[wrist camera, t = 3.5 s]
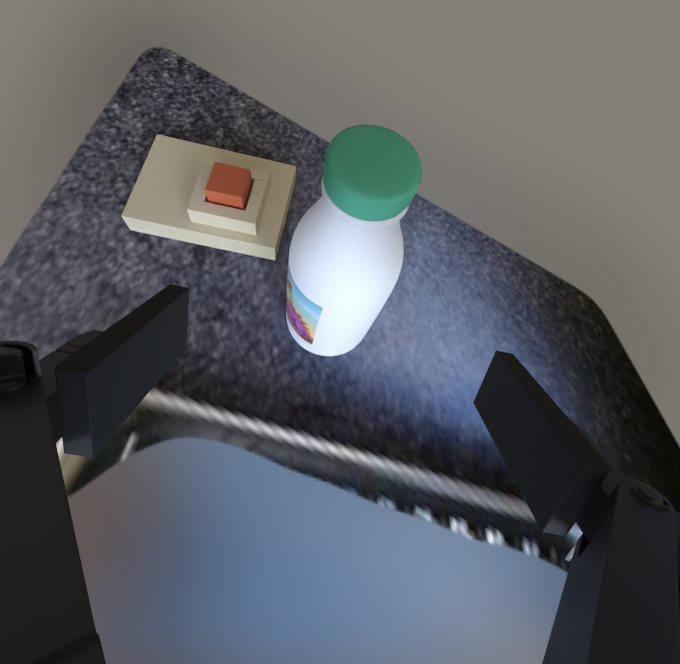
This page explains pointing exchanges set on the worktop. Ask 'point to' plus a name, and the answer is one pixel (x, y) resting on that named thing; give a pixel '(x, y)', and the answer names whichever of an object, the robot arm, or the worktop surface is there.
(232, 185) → the red switch button
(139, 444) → the worktop surface
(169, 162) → the light switch
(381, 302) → the milk bottle
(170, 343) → the robot arm
